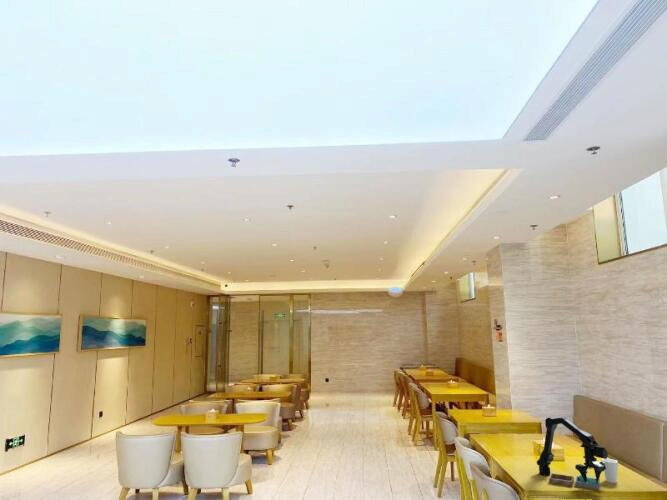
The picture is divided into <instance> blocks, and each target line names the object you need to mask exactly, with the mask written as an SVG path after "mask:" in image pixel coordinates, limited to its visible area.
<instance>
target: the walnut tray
mask: <svg viewBox="0 0 667 500" xmlns="http://www.w3.org/2000/svg"><path fill="white" fill-rule="evenodd" d="M549 476H550V477H549V484H551V485H558V486H565V487H569V488H570V487H571V488H573V487H574V482H575V478H574V476H573V475H566V474H559V473H550V475H549Z"/></svg>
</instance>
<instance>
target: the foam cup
mask: <svg viewBox="0 0 667 500" xmlns="http://www.w3.org/2000/svg"><path fill="white" fill-rule="evenodd" d="M600 459H601V460H600V462H604V464H605V466H606V469H605V470H604V471H603V475H604V478H605V481H606V482H608V483H612V484H617V483H618V468H619V462H618V460H617V459H612V458H607V459H603V458H600Z"/></svg>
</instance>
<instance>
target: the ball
mask: <svg viewBox="0 0 667 500" xmlns="http://www.w3.org/2000/svg"><path fill="white" fill-rule="evenodd" d="M578 476H579V479H580V481H581V482H584V483H586V482H585V481H584V479H583V477H582V475H581V474H580V475H578ZM588 478H589V477H587V480H588Z"/></svg>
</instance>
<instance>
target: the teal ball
mask: <svg viewBox="0 0 667 500" xmlns="http://www.w3.org/2000/svg"><path fill="white" fill-rule="evenodd" d="M587 478H588V480H587V482H588V483H590V484H596V480H595V479H596V478H594V477H587Z"/></svg>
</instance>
